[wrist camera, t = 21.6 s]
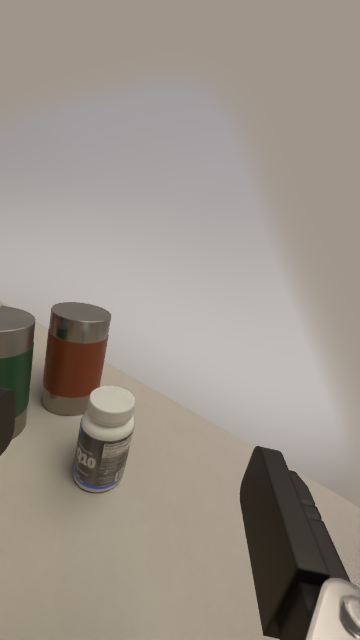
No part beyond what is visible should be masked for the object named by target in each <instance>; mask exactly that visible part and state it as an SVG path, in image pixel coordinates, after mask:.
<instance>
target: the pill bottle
mask: <svg viewBox="0 0 360 640" xmlns="http://www.w3.org/2000/svg"><path fill="white" fill-rule="evenodd" d="M134 407H135V398H134V396H133V395H132V394H131V393H130V392H129V391H127V390H126V389H123V388H121V387H117V386H102V387H99V388H96V389H95V390H93V391H92V392H91V394H90V397H89V401H88V405H87V410H86V411H85V412H84V414H83V416H82V418H81V423H80V429H79V436H78V442H77V448H76V455H75V460H74V466H73V475H74V479H75V481H76V483H77V484H78V485H79V486H80V487H81V488H83V489H84V490H87V491H90V492H104V491H107V490H110V489H112V488H113V487H115V486H116V485H117V484H118V483H119V482H120V480H121V479H122V476H123V473H124V469H125V464H126V460H127V456H128V452H129V447H130V442H131V438H132V434H133V430H134V425H135V421H134V417H133V412H134Z"/></svg>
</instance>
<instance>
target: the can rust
mask: <svg viewBox="0 0 360 640" xmlns="http://www.w3.org/2000/svg"><path fill="white" fill-rule="evenodd" d="M110 321H111V314H110V313H109V312H108V311H107V310H105V309H103V308H101V307H98V306H94V305H90V304H84V303H76V302H68V303H67V302H66V303H59V304H56V305H54V306H53V307H52V308H51V317H50V326H49V330H48V339H47V349H46V358H45V367H44V377H43V391H42V404H43V406H44V407H45V408H46V409H47V410H49V411H50V412H52V413H55V414H59V415H66V416H71V415H79V414H83V413H84V412H85V411H86V410H87V405H88V401H89V397H90V394H91V392H92V391H93V390H95V389H96V388H99V386H100V381H101V375H102V370H103V364H104V358H105V352H106V346H107V341H108V332H109V326H110Z"/></svg>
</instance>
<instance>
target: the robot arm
mask: <svg viewBox="0 0 360 640" xmlns="http://www.w3.org/2000/svg"><path fill="white" fill-rule="evenodd" d="M16 399H17V395H16V392H15V391H14V390H10V389H6V388H1V387H0V456H1V454H2V453H3V452H4V451H5V450H6V448H7V447H8V445H9V443H10V442H11V439H12V437H13V434H14V428H15V414H16ZM240 504H241V510H242V515H243V521H244V527H245V533H246V538H247V544H248V550H249V556H250V561H251V567H252V573H253V579H254V585H255V590H256V596H257V602H258V608H259V613H260V619H261V625H262V631H263V636H268V637H273V638H278V639H280V640H360V588H359V587H357V586H356V585H354V584H352V583H351V582H350V580H349V577H348V575H347V573H346V571H345V569H344V566H343V564H342V562H341V560H340V557H339V555H338V553H337V551H336V549H335V546H334V544H333V542H332V540H331V537H330V535H329V533H328V531H327V529H326V526H325V524H324V522H323V521H322V520H321V515H320V513H319V511H318V509H317V507H315V502H314V500H313V498H312V495H311V493H310V491H309V489H308V487H307V485H306V484H305V483H304V482H303V481H302V479H301V478H300V477H299V476H298V474H297V473H296V472H294V471H290V470H288V467H287V465H286V462H285V460H284V457H283V455H282V453H281V452H280V451H277V450H273V449H268V448H264V447H260V446H256V447H255V449H254V451H253V453H252V456H251V458H250V461H249V464H248V466H247V469H246V472H245V474H244V477H243V480H242V483H241V488H240Z"/></svg>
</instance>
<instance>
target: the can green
mask: <svg viewBox="0 0 360 640" xmlns="http://www.w3.org/2000/svg"><path fill="white" fill-rule="evenodd" d="M34 329H35V318H34V316H33V315H31V314H30V313H28V312H26V311H23V310H20V309H16V308H12V307H5V306H0V387H1V388H6V389H10V390H14V391H15V392H16V395H17V399H16V414H15V428H14V434H13V437H12V439H13V438H15V437H16V436H17V435H19V434H20V432H21V431H22V430H23V429H24V427H25V424H26V416H27V406H28V401H29V390H30V379H31V369H32V358H33V347H34V342H33V340H34ZM12 439H11V440H12Z"/></svg>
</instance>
